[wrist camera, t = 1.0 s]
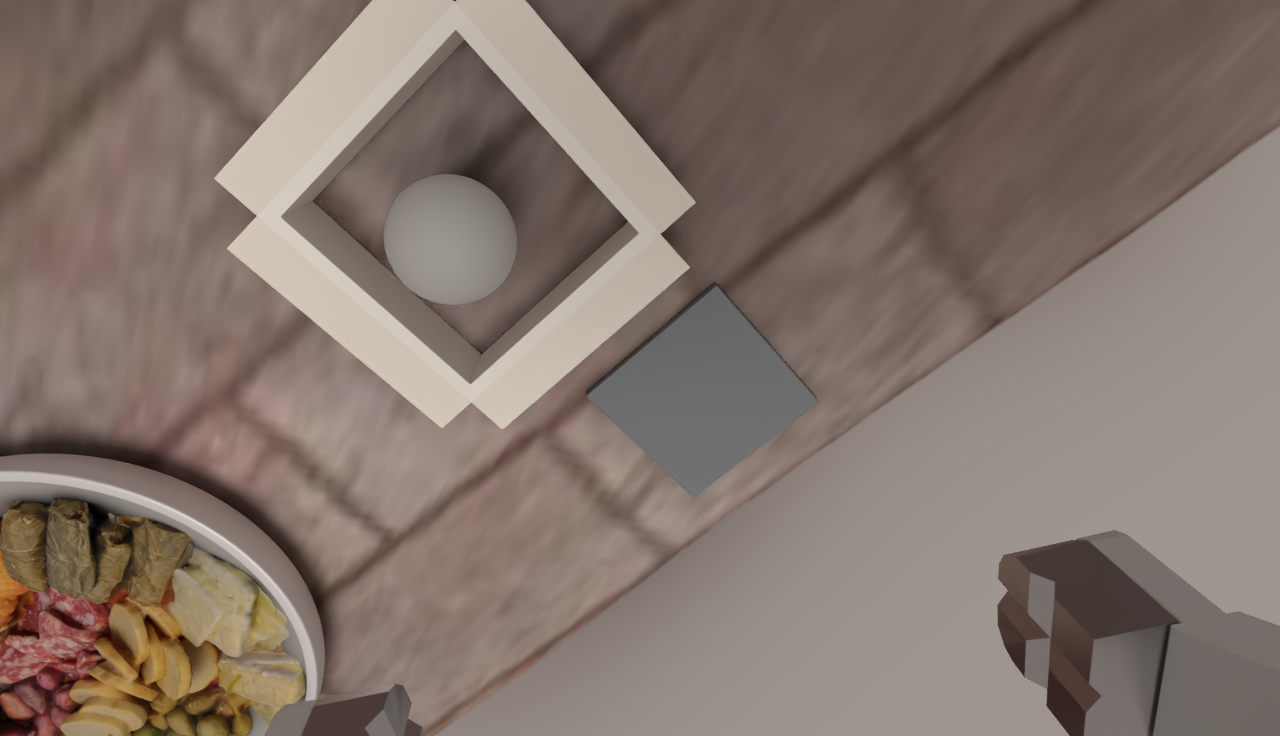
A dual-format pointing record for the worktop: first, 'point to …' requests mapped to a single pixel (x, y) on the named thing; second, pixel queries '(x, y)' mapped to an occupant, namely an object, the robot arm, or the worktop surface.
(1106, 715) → the robot arm
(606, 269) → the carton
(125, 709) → the bowl
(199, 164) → the worktop surface
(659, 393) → the mat
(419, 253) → the lightbulb
